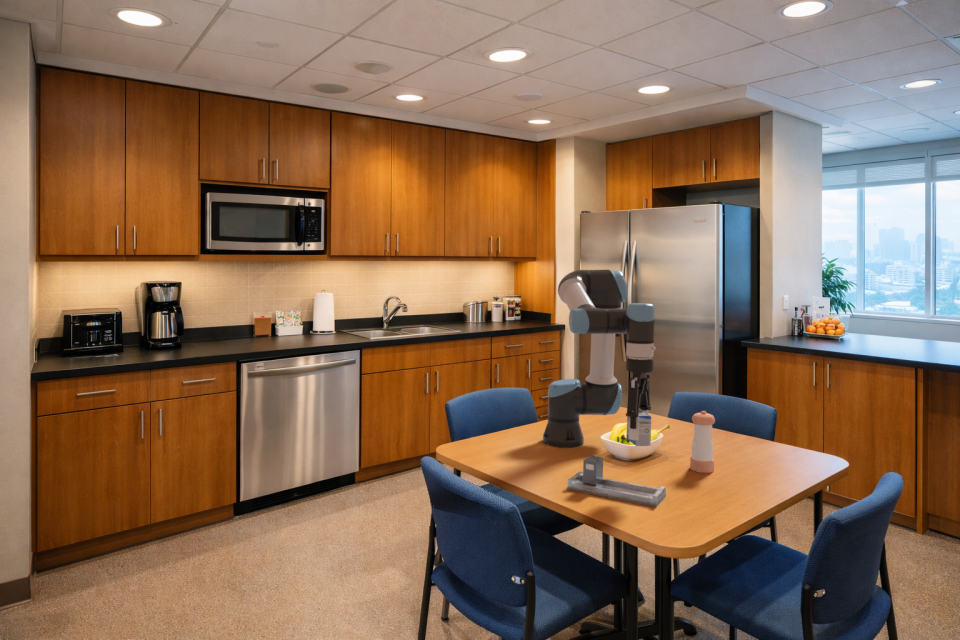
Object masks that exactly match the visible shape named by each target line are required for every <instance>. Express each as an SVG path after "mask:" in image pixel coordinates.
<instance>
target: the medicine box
mask: <svg viewBox="0 0 960 640" xmlns="http://www.w3.org/2000/svg"><path fill="white" fill-rule="evenodd" d="M632 412H633V411H632ZM638 417H639V440H631V439H629V417H628V416H626V438H625V439H626V440H628V441H629V442H630V443H631V444H632V445H635V446H636V447H648V446H649V447H650V446H651V442H652V441H651V440H652V439H651V438H652V416H651V415H649V413H648V414H646V413H645V412H643V411H641V409H639V414H638Z"/></svg>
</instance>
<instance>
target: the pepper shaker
mask: <svg viewBox="0 0 960 640" xmlns="http://www.w3.org/2000/svg"><path fill="white" fill-rule="evenodd" d="M691 420H692V423H693V424H694V425H693V428H694V429H693V439H692V444H691V456H690V458H689V461H690V463H689V464H690V465H689V469H690V470H691V471H693V472H697V473H701V474H702V473H703V474H709V473H710V474H711V473H713V472H714V470H715V459H714V445H713V444H714V443H713V425H714V424H715V423H716V418H715V416H714V415H713V414H712V413H711V414H710V413H707V411H706V410H701V411H700V412H696V413H694V414H693V415H692V417H691Z"/></svg>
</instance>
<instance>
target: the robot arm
mask: <svg viewBox="0 0 960 640" xmlns="http://www.w3.org/2000/svg"><path fill="white" fill-rule="evenodd" d="M627 287H628V286H627V281H626V278H625V275H624V274H623V272H622V271H621V270H618V269H616V270H615V269H578V270H574V271H571V272H569V273H567V274H566V275H564V277H563V278H562V279H561V280H560V281H559V283H558V286H557V294H558V296H559V298H560V300H561V302H563V303H564V304H566V306H567V308H568V309H569V314H568V315H569V316H568V326H569V330H570V332H571V333H572V334H580V335H585V334H587V335H589V334H591V337H590V338H591V339H590V364H589V374H588V375H587V376H586V377H585V382H584V383H581V381H580V380H579V379H576V378H565V379H558V380H555V381H551V383H550V384H549V385H548V389H547V390H548V392H547V398H548V399H547V400H548V401H547V424H546V426H545V429H544V432H543V434H542V442H543V444H545V445H548V446H550V447H555V448H575V447H580V445H581V446H583V445H584V442H585V441H584V439H585V438H584V434H583V431H582V427H581V424H580V416H582V415H583V416H587V415H588V416H591V415H592V416H597V415H599V416H602V415H603V416H607V415H608V416H610V415H616V414H618V412H619V410H620V408H621V404H622V399H623V393H622V392H623V389H622V385H621V383H619V382H618V379H617V378H616V377H615V376H614V367H615V351H616V350H615V349H616V348H615V347H616V334H617V335H619V334H622V335H623V334H625V335H626V350H625V351H626V352H625V353H626V355H625V356H627V358H626V361H625V362H626V364H625V371H627V372H630V373H632V377H631V378H630V379H629V380H628V393H627V407H626V413H625V417H627V416H628V417H629V439H631V440H639V417H638V414H639V410H641V411H643V412H645V413H646V414H648V415H649V411H652V406H651V392H650V391H651V389H650V379H651V376H650V375H651V374H650V373H652V372H653V371H654V361H655V360H654V359H653V357H654V355H655V354H654V352H655V351H656V349H657V347H656V346H655V343H654V342H655V323H656V322H655V320H656V313H655V306H654V304H652V303H647V302H646V303H643V302H642V303H641V302H640V303H639V302H638V303H637V302H636V303H634V302H632V303H629V304H628V305H627V307H625V308H622V303H626V302H627V297H628V288H627ZM632 411H633V412H632Z"/></svg>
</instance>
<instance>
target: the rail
mask: <svg viewBox="0 0 960 640" xmlns="http://www.w3.org/2000/svg"><path fill="white" fill-rule="evenodd" d="M582 468H583V469H582V470H583V471H581V470H580V471H578V472H577V473H575V474H574V475H573V476H571V477H570V478H569V479H568V480H567V487H566V488H567V491H573V492H576V493H577V492H578V493H583V494H586V495H594V496H598V497H603V498H608V499H613V500H617V501H623V502H627V503H628V502H629V503H631V504H632V503H633V504H638V505H644V506H647V507H653V508H657V507H658V506H659V505H660V504H661V502H662V501H663V500H664V499H665V497H666V496H667V492H666V489H667V488H666V486H663V485H661V486H660V487H655V486H654V487H653V486H648V485H644V484H638V483H632V482H627V481H621V480H617V479H616V480H615V479H609V478H604V457H601V456H595V455H589V456H588V457H586V458H585V459H583V467H582Z"/></svg>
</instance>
